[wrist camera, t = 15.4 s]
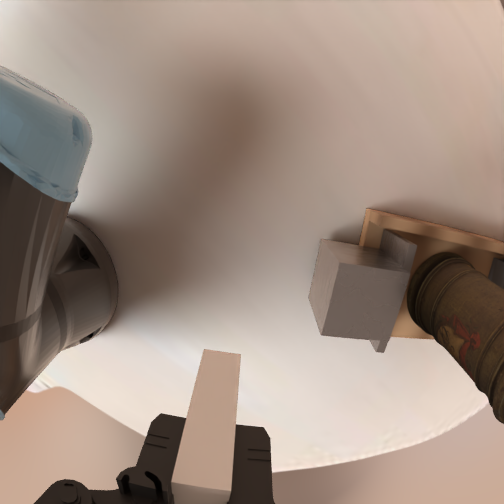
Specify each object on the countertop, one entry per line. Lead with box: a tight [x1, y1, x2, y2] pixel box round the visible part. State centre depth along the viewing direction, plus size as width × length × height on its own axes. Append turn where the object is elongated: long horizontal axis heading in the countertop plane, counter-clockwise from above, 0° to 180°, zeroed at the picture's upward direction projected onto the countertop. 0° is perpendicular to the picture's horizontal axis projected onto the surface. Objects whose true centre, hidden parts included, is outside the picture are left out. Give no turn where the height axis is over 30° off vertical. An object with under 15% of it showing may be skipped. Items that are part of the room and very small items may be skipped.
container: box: [407, 252, 504, 423], centre depth 23 cm, size 9×9×18 cm
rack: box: [359, 208, 504, 339], centre depth 26 cm, size 23×13×14 cm, turn 81°
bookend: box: [308, 229, 417, 353], centre depth 27 cm, size 7×10×8 cm
